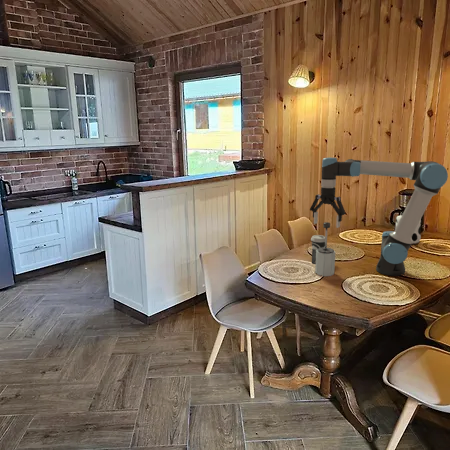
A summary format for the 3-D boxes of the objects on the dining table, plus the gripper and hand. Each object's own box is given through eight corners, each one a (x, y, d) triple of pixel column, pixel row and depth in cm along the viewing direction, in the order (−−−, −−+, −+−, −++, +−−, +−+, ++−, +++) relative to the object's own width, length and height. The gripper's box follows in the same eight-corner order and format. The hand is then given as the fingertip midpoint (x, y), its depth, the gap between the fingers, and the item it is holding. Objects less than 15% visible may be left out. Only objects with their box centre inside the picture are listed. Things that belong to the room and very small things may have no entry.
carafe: (336, 272, 218) (337, 249, 215) (328, 277, 211) (329, 253, 208) (316, 267, 227) (317, 245, 224) (307, 272, 220) (308, 249, 217)
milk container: (390, 243, 268) (392, 218, 264) (395, 237, 282) (397, 213, 278) (417, 247, 259) (420, 221, 254) (421, 241, 272) (424, 216, 268)
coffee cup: (326, 262, 234) (327, 239, 230) (310, 262, 236) (310, 238, 232) (325, 257, 243) (326, 234, 239) (310, 257, 245) (310, 234, 241)
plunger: (334, 253, 215) (335, 222, 211) (328, 256, 211) (329, 225, 206) (323, 250, 220) (324, 220, 216) (316, 253, 215) (318, 223, 211)
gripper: (353, 188, 200) (351, 227, 206) (311, 184, 217) (310, 220, 222) (347, 189, 195) (344, 230, 200) (304, 185, 212) (303, 223, 217)
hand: (326, 225), depth 211 cm, fingers open, 13 cm apart
